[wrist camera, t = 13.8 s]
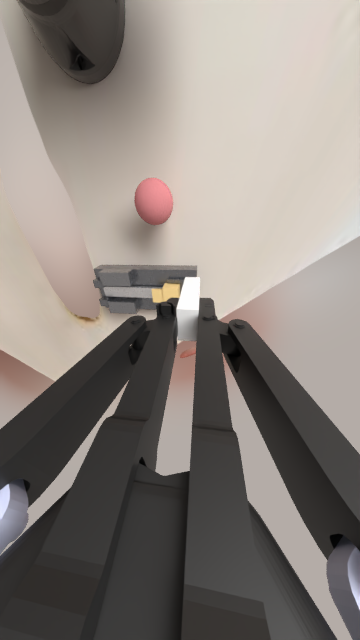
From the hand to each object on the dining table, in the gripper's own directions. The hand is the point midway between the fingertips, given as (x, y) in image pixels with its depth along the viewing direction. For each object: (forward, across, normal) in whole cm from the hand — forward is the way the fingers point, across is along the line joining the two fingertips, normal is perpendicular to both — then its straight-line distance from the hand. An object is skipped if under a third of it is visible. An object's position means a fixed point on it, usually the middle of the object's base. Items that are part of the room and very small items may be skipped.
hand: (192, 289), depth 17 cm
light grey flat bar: (+25, -17, -11) cm, 32 cm away
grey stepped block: (+29, -14, -11) cm, 35 cm away
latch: (+25, -8, -11) cm, 29 cm away
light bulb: (+30, -8, +8) cm, 32 cm away
